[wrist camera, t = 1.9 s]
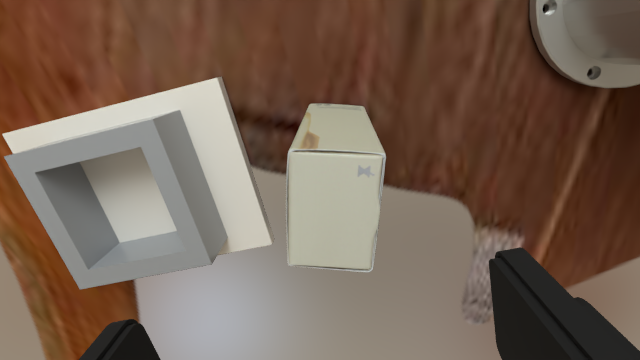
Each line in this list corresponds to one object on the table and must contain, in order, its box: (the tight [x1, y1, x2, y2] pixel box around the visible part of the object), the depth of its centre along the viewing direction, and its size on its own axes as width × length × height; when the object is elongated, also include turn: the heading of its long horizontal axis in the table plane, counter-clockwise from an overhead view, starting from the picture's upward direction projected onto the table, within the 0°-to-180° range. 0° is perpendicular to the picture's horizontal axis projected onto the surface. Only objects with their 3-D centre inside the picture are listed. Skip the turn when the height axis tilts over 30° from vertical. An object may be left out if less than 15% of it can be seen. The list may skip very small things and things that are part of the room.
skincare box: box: [286, 104, 386, 273], centre depth 21 cm, size 6×4×12 cm
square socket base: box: [2, 77, 274, 289], centre depth 26 cm, size 18×14×5 cm
